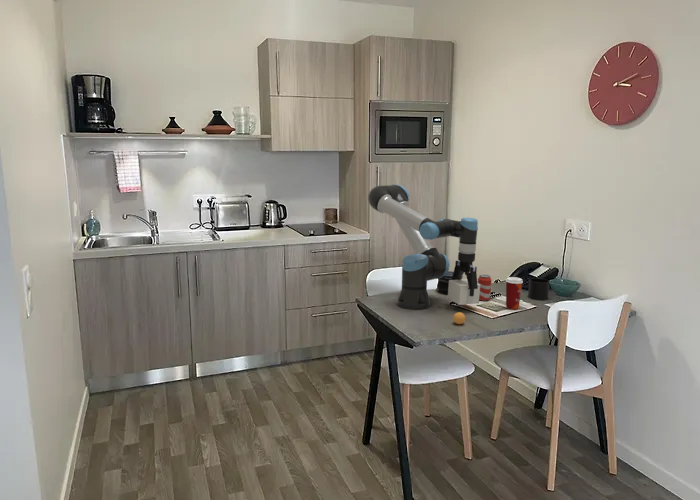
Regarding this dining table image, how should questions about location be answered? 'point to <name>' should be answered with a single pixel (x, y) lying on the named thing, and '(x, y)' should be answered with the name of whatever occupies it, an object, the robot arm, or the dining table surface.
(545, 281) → the mug
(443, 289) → the container
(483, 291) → the beverage can
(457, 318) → the ball
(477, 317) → the dining table surface
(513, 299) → the paper cup
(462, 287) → the plain off-white cube
